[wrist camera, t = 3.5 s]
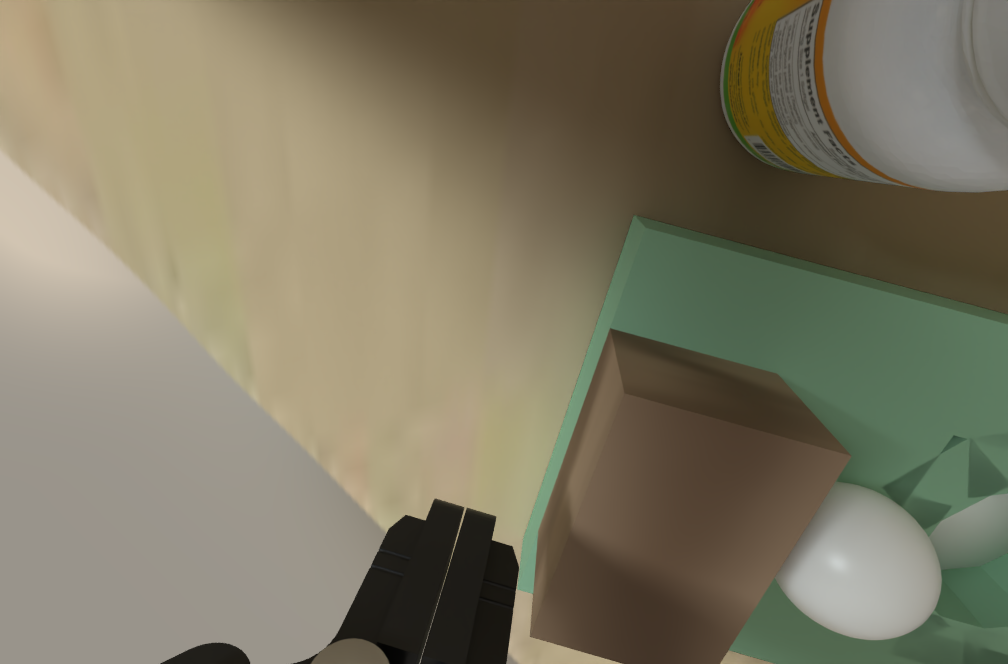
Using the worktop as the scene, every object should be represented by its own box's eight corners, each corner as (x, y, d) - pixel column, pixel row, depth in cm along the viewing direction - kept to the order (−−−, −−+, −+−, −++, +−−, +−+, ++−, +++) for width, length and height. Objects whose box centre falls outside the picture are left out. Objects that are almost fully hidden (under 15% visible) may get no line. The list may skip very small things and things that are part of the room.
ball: (726, 535, 16) (772, 650, 13) (780, 439, 15) (850, 537, 11) (843, 568, 16) (924, 694, 13) (909, 474, 15) (1023, 586, 11)
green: (523, 539, 21) (517, 589, 18) (634, 215, 15) (645, 228, 13) (987, 672, 20) (1042, 740, 18) (1268, 384, 15) (1396, 428, 13)
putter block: (538, 530, 17) (529, 636, 14) (609, 328, 14) (624, 393, 11) (675, 569, 17) (704, 687, 13) (777, 373, 14) (851, 456, 10)
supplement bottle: (926, -87, 12) (1994, -773, 3) (931, 137, 14) (1627, 127, 5) (700, -3, 13) (980, -312, 4) (730, 194, 15) (978, 275, 6)
